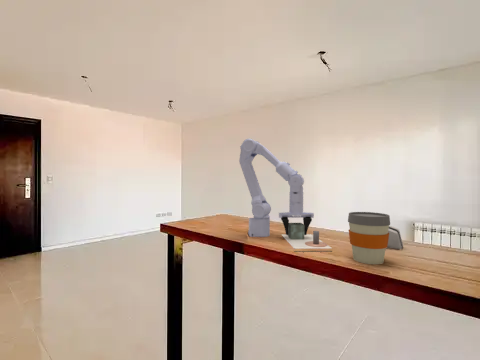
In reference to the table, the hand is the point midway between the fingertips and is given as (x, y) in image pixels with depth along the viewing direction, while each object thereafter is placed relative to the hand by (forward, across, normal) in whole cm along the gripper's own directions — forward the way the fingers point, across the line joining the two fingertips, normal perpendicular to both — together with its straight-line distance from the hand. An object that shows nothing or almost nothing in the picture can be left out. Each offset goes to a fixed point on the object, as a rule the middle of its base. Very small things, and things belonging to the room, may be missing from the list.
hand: (296, 234), depth 115 cm
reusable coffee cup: (+3, +17, -27) cm, 32 cm away
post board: (+3, +2, -5) cm, 6 cm away
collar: (+1, 0, 0) cm, 1 cm away
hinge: (+3, +31, -8) cm, 32 cm away
